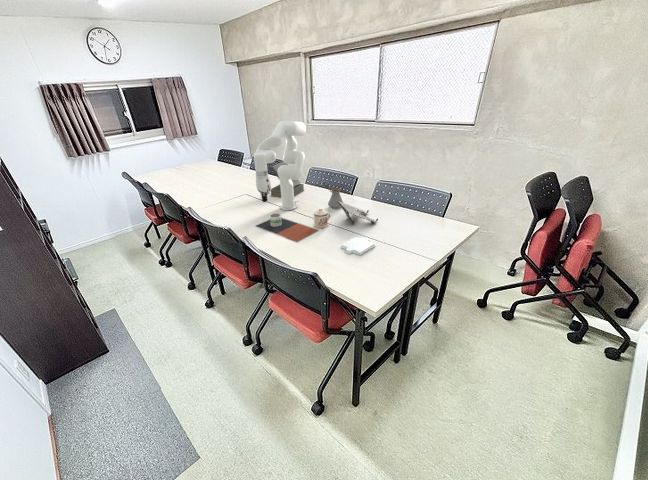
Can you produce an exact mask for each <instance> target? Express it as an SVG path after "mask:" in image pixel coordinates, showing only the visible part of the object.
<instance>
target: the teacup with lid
mask: <svg viewBox="0 0 648 480" xmlns="http://www.w3.org/2000/svg"><path fill="white" fill-rule="evenodd" d="M330 218H331V214H330V212H328V211H327V210H326V209H323V208H321V207H320V208H318V209H317V210H314V212H313V221H314V222H313V225H314V227H315V228H317V229H323V228H327V227H328V221H329V220H330Z"/></svg>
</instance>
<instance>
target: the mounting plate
mask: <svg viewBox="0 0 648 480" xmlns="http://www.w3.org/2000/svg"><path fill="white" fill-rule="evenodd" d="M375 245H376V243H375V242H372V241H370V239H369V238H368V237H363V238H361V237H357V236H354V237H353V238H350V239H349V240H347V241H346V242H344V243H342V244H340V248H341V249H343V250H345V252H346V254H349V255H351V254H356V255H358V256H362V255H363V254H365V253H367V252H368V251H370V250H371V249H372V248H374V247H375Z"/></svg>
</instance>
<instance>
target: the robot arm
mask: <svg viewBox="0 0 648 480" xmlns="http://www.w3.org/2000/svg"><path fill="white" fill-rule="evenodd" d="M306 131H307V127H306V124H305V123H304V122H302V121H295V120H281V121H278V123H277V124H276V126H275V128H274V129H273V131H272V133H271V135H270V136H269V137H267V138H266V139H264V140H263V141H262V142H260V143H259V144H258V146H257V148H256V150H255V152H254V153H253V162H254V169H255V186H256V190H257V192H258V193H260V196H261V201H262V203H266V202H268V201H269V200H268V195H271V189H272V185H271V179H270V175H269V171H268V164H272V163H274V162H275V161H276V160H277V153H276V152H275V151H274V150H272V149H275V148H278V147H280V146H282V144H283V142H284V140H285V147H284V149H283V150H284V151H283V156H282V162H284V163H286V164H288V165H281V166H280V167H279V168H278V176H279V179H278V180H279V185H280V187H281V198H280V199H281V205H280V206H279V208H280V209H281V210H282V211H292V210H295V209H296V208H298V207H297V206H298V205H297V204H298V203H299V200H298V199H295V196H294V191H293V183H292V181H291V179H292V180H300V178H301V177H302V173H303V170H304V166H305V161H306V160H305V159H306V157H305V153H304V152H303V150H299V149H298V141H297V139H296V138H295V137H303V136H304V135H305V134H306Z"/></svg>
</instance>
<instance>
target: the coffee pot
mask: <svg viewBox="0 0 648 480" xmlns="http://www.w3.org/2000/svg"><path fill="white" fill-rule="evenodd" d="M323 186H324V187H326V188H327V190H328V191H330V193H331V195H330V198H329V200H328V202H327V205H328V207H329V208H330V209H332V210H339V209H342V207H341V206H340V205H339V203H338V202H337V201H340V202H342V203H344V201H343V198H342V196H341V194H340V192H341V189H340V188H334V189H331V188H330V187H329V186H328V185H327V184H326V182H323Z"/></svg>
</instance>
